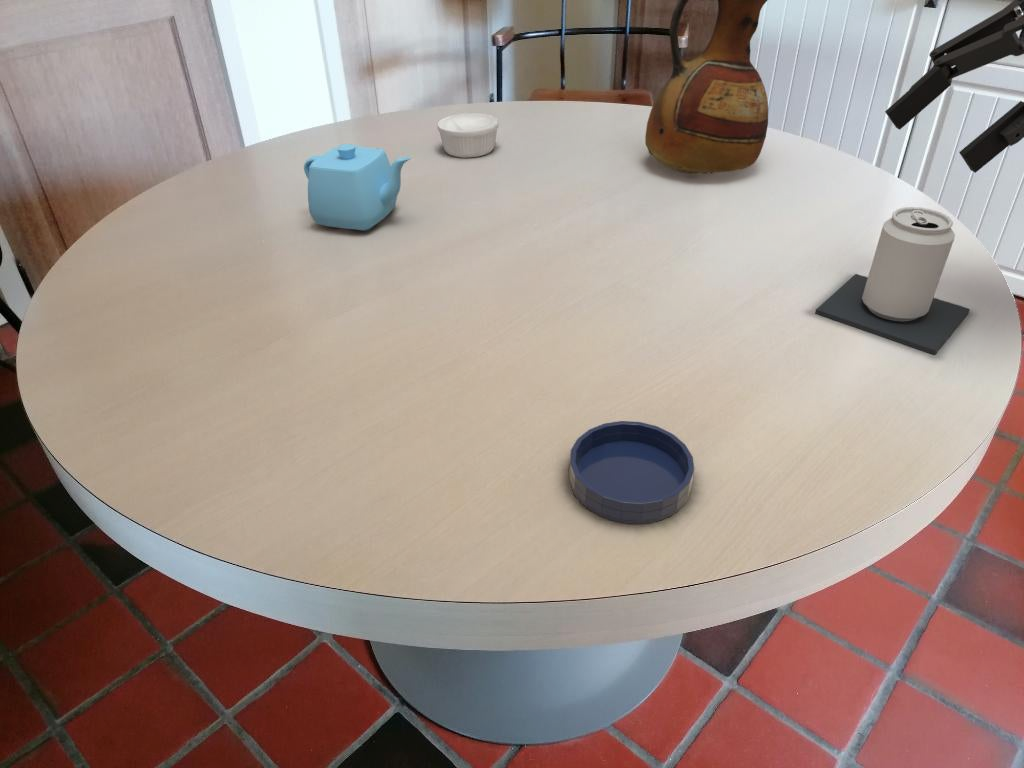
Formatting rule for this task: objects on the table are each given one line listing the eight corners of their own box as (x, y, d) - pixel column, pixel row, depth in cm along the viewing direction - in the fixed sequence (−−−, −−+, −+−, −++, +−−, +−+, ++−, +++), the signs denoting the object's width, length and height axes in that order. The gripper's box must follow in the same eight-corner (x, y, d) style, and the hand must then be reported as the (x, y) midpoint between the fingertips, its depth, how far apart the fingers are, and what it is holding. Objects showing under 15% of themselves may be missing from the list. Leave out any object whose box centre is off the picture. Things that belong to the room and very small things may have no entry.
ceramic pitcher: (765, 189, 124) (803, -15, 106) (642, 184, 127) (658, -15, 109) (753, 148, 139) (784, -35, 122) (643, 145, 142) (658, -34, 125)
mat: (968, 313, 91) (970, 308, 91) (934, 355, 84) (936, 350, 84) (854, 277, 99) (855, 273, 99) (814, 313, 92) (815, 309, 92)
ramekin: (427, 152, 142) (424, 123, 139) (467, 136, 149) (465, 109, 146) (471, 164, 136) (469, 135, 133) (510, 147, 143) (510, 119, 140)
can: (873, 325, 88) (902, 230, 81) (851, 293, 94) (876, 203, 87) (937, 324, 88) (972, 230, 81) (911, 293, 94) (941, 202, 87)
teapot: (401, 242, 110) (392, 166, 104) (293, 229, 115) (278, 155, 108) (433, 210, 120) (427, 138, 113) (333, 198, 125) (321, 129, 118)
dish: (713, 475, 69) (717, 455, 68) (645, 544, 63) (648, 523, 61) (616, 426, 75) (617, 406, 74) (545, 483, 69) (545, 463, 68)
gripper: (1254, 28, 63) (1021, 209, 71) (1046, -18, 83) (881, 127, 91) (1231, -42, 60) (988, 157, 67) (1019, -72, 80) (850, 84, 87)
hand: (926, 140), depth 79 cm, fingers open, 13 cm apart
